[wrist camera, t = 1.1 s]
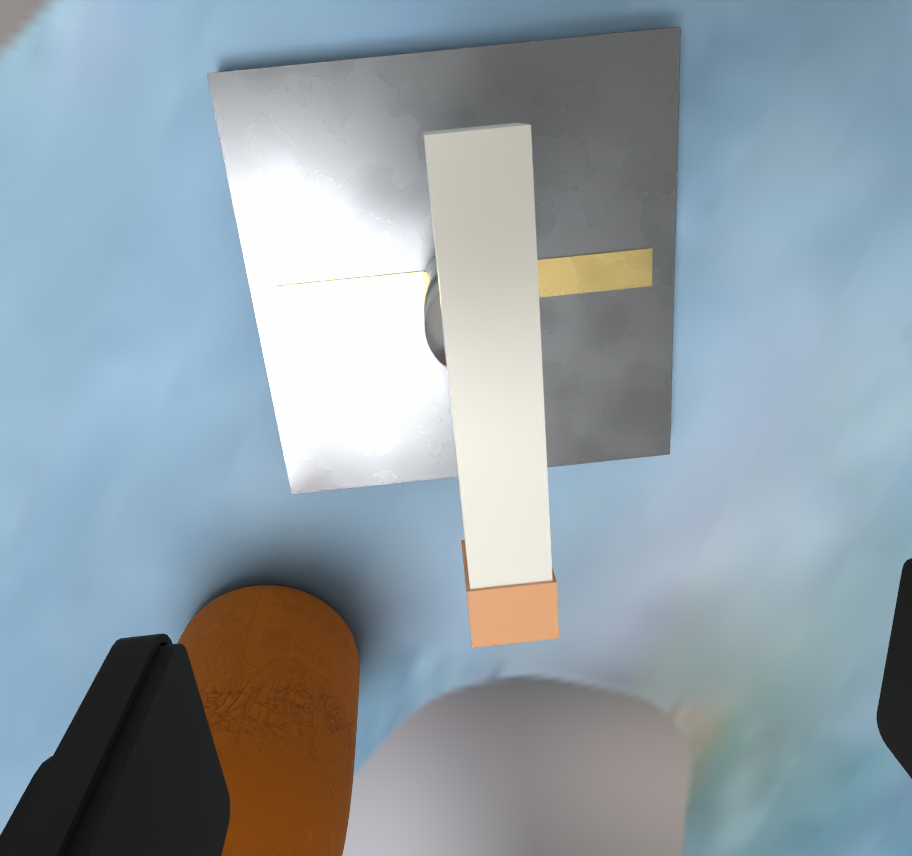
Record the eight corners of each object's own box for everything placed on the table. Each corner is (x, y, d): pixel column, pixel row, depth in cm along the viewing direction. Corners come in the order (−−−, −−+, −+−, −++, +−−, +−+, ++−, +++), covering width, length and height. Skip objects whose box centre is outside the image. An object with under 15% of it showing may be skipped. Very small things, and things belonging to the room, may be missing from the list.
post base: (668, 30, 30) (752, 4, 22) (660, 441, 37) (722, 524, 29) (216, 75, 29) (150, 63, 22) (296, 479, 37) (266, 572, 29)
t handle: (503, 120, 23) (535, 123, 17) (527, 523, 28) (558, 637, 22) (418, 128, 23) (420, 135, 17) (459, 531, 28) (472, 647, 22)
